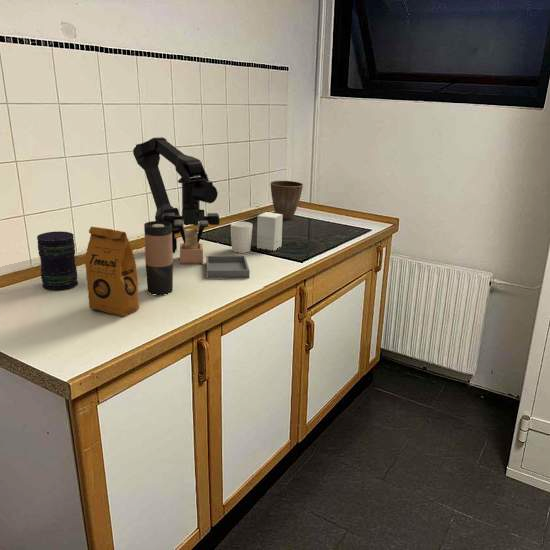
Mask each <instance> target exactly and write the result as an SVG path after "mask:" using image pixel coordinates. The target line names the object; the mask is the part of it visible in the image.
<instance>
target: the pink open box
mask: <svg viewBox="0 0 550 550" xmlns="http://www.w3.org/2000/svg"><path fill="white" fill-rule="evenodd" d="M197 263H198V264H197ZM199 263H203V264H204V247H203V243H202V242H199V244H197V249H185V244H184V242H183V243H181V242H180V243H179V264H180V265H199Z"/></svg>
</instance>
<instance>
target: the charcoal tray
mask: <svg viewBox="0 0 550 550" xmlns="http://www.w3.org/2000/svg"><path fill="white" fill-rule="evenodd" d="M205 260H206V261H205V264H206V266H205V267H206V278H207V279H248V278H249V279H250V272H251V271H250V267H249V264H248V261H247V258H246V255H206V256H205Z"/></svg>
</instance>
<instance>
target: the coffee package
mask: <svg viewBox="0 0 550 550" xmlns="http://www.w3.org/2000/svg"><path fill="white" fill-rule="evenodd" d="M88 233H89V234H90V236H89V241H88V243H87V248H86V252H85V257H84V264H85V273H86V274H85V276H86V282H87V283H86V286H87V287H86V288H87V293H88V294H87V295H88V296H87V298H88V306H89V307H88V308H89V309H93V310H97V311H101V312H104V313H107V314H111V315H116V316H120V317H123V318H124V317H126V316H127V315H130V314H133V313H134V312H137V311H138V310H139V308H140V304H139V299H140V297H139V279H138V272H137V263H136V258H135V256H134V253H133V249H132V247H131V244H130V243H131V242H130V241H129V238H128V235H127V232H125V231H121V230H115V229H111V228H107V227H106V228H104V227H97V226H90V228H89V230H88Z"/></svg>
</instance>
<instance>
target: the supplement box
mask: <svg viewBox="0 0 550 550" xmlns="http://www.w3.org/2000/svg"><path fill="white" fill-rule="evenodd" d="M282 218H283V214H276V213H275V212H267V211H265V212H263V213H261V214H258V215H257V220H256V221H257V224H256V225H257V227H256V229H257V230H256V232H257V233H256V249H260V248H261V250H266V249H267V250H268V251H272V250H273V251H277V250H278V249H280V248H281V247H282V243H283V242H282V240H283V219H282ZM279 247H280V248H279ZM277 248H278V249H277ZM267 250H266V251H267ZM273 251H272V252H273Z"/></svg>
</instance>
